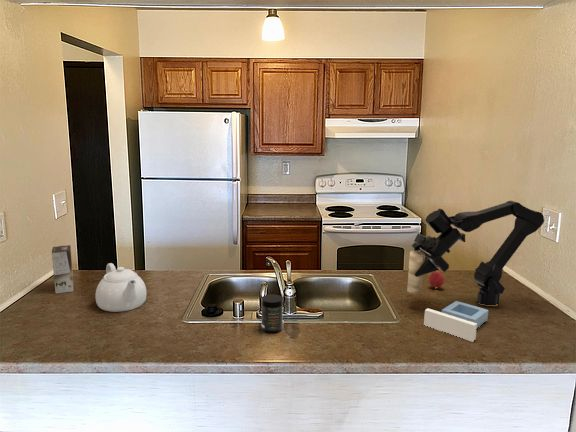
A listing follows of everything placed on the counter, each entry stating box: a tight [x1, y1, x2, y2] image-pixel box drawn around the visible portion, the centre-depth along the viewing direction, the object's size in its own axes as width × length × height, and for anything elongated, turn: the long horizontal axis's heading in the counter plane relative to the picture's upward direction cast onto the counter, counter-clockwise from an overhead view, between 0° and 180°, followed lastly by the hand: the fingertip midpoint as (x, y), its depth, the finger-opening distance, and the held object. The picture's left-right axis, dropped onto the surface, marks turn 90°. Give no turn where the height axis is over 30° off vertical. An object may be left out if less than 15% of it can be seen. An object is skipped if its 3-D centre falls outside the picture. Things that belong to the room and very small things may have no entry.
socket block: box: [441, 300, 489, 329], centre depth 153 cm, size 11×11×4 cm
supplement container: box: [260, 293, 284, 334], centre depth 145 cm, size 7×7×10 cm
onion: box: [428, 270, 445, 288], centre depth 183 cm, size 6×6×8 cm
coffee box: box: [51, 244, 74, 294], centre depth 176 cm, size 9×6×16 cm
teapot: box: [95, 262, 147, 313], centre depth 164 cm, size 19×18×14 cm
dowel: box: [406, 250, 425, 295], centre depth 161 cm, size 5×5×14 cm
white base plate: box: [423, 307, 478, 343], centre depth 150 cm, size 20×16×6 cm
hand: (412, 273), depth 161 cm, fingers closed on dowel, 5 cm apart
